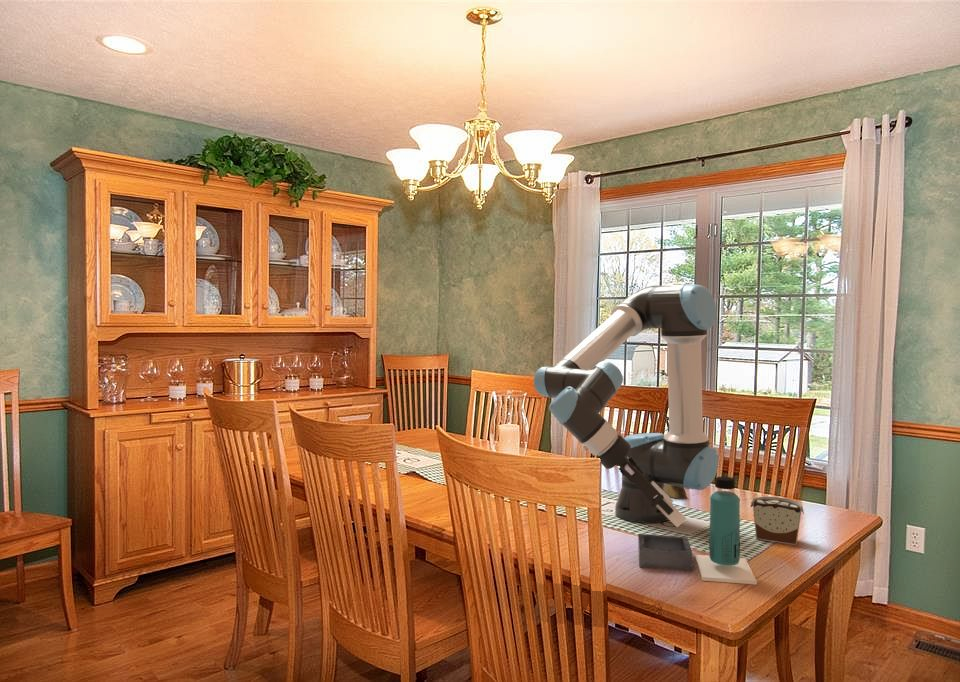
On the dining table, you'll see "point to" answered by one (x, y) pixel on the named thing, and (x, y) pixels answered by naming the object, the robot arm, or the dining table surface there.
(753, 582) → the coaster pad
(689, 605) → the dining table surface
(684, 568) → the bottle holder
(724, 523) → the beverage bottle
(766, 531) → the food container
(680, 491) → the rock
